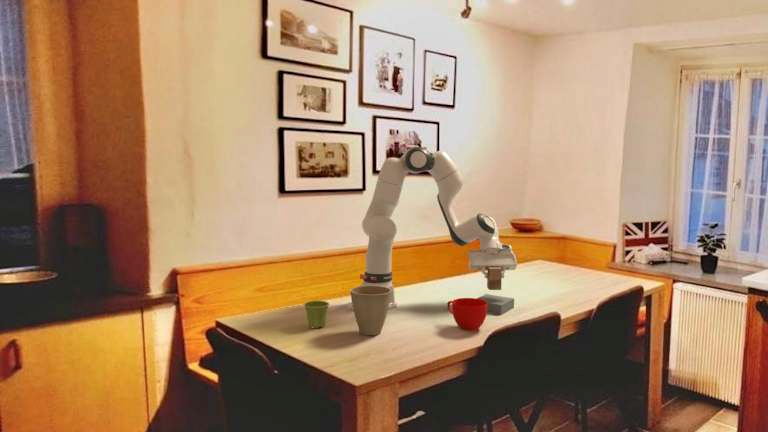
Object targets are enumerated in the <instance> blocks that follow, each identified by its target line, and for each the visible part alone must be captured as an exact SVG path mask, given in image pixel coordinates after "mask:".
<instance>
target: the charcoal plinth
mask: <svg viewBox="0 0 768 432" xmlns="http://www.w3.org/2000/svg"><path fill="white" fill-rule="evenodd" d="M476 299H481V300H484V301H486V302H487V313H490V314H494V315H500V316H501V315H504V314H505V313H507V312H510V311H511V310H512V309H514V308H515V298H514V297H513V298H512V297H506V296H502V295H501V296H500V295H494V294H488V293H485V294H483V295H481V296H478V297H477V298H476Z"/></svg>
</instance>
